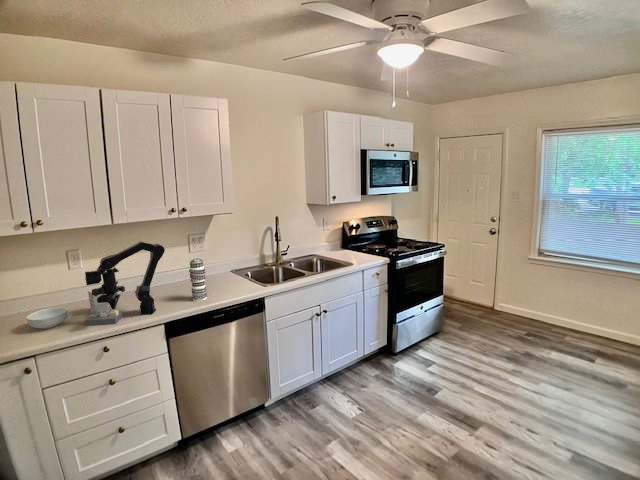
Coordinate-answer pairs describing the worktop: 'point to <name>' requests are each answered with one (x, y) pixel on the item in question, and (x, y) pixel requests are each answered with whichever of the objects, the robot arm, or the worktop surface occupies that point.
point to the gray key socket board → (104, 319)
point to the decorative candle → (197, 279)
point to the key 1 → (94, 315)
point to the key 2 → (114, 313)
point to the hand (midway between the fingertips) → (113, 309)
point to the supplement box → (97, 304)
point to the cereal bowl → (47, 317)
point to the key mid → (104, 313)
